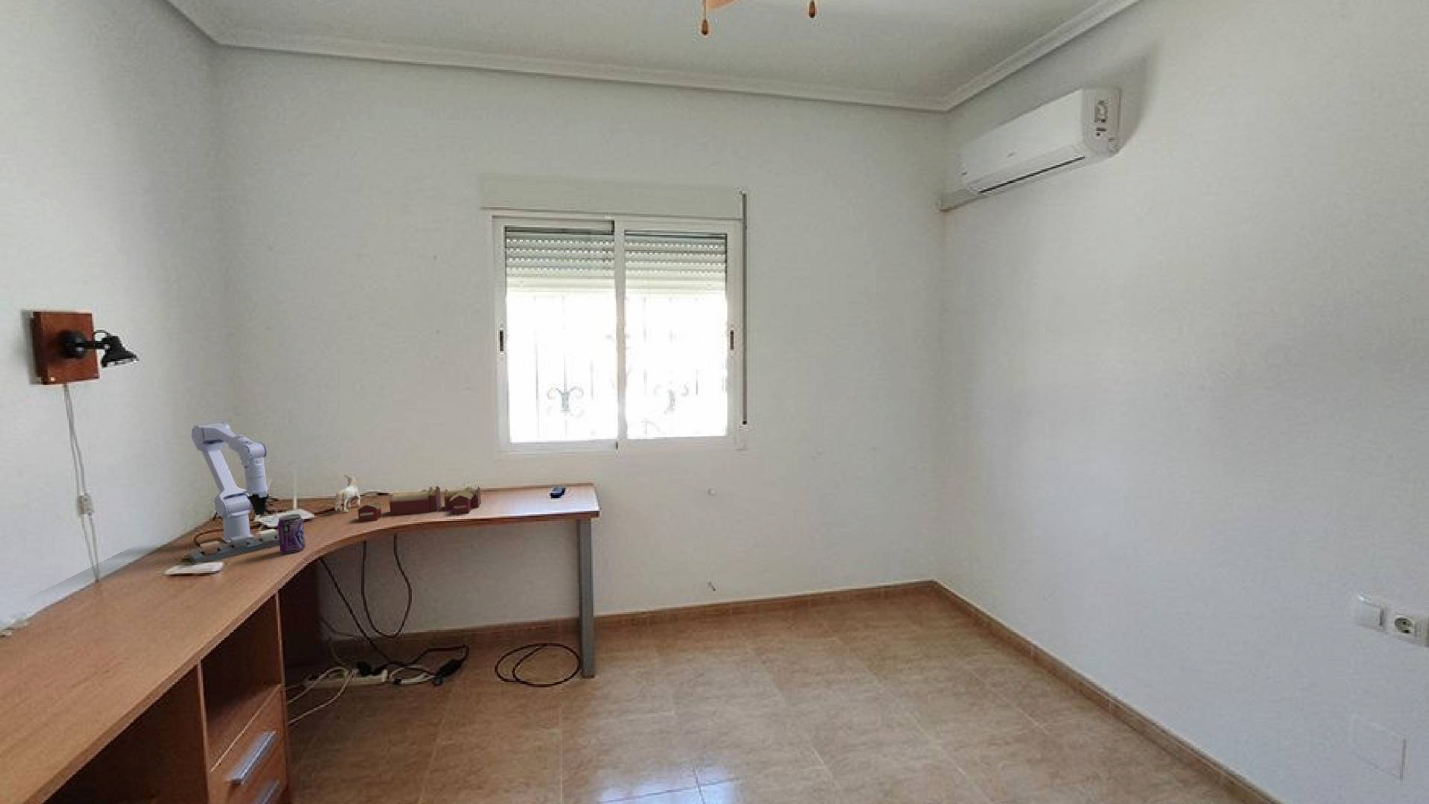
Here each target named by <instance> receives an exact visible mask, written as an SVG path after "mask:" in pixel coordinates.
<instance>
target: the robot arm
mask: <svg viewBox="0 0 1429 804" xmlns="http://www.w3.org/2000/svg"><path fill="white" fill-rule="evenodd" d="M230 427H231V426H230V425H229V424H228V423H227V422H225V421H223V422H219V423H210V424H209V423H208V424H200V425H199V424H196V425H194V426H193V427H192V429H191V439H192V442H193V444H194V446H195V448H196V450H197V451H200V452H201V453H202V455H203V457H204V460H205V461H206V464H207V466H208V468H209V471H210V472H211V475H212V478H213V480H214V482H215V484H216V487H217V489H218V491H219V493H218V494H217V495H216V496H215V498H214V499H213V502H214V506H215V507H214V508H215V511H216V513H217V515H218V516H220V518H222V526H223V535H224V536H221V538H220V539H222V540H223V541H224V542H226V544H230V543H232V542H231V541H230V538H232V537H237V536H241V535H247V536H249V539H253V538H255V535H253V534H252V533H251V529H250V520H249V514H250V513H251V511H252V509H253V511H254V514H255V515H256V516H262V515H264V514H265V509H266V504H267V500H268V499H269V496H270V495H269V494H268V493H267V491H268V490H269V489H268V485H267V476H266V468H265V458H266V457H267V453H268V450H267V446H266V445H265V444H264V443H263V442H262V441H259V442H258V441H257V442H254V441H253V440H251V439H249V438H247V437H246V436H245V435H244V434H235V433H234V432H233V431H232V430H231V428H230ZM227 444H228V448H229V449H231V450H232V451H234V452H236V453H237V454H238V456H239V459H240V461H241V464H242V466H243V468H244V477H245V484H246V488H245V489H244V488H241V487H238V486H237V484H236V482H235V479H234V478H233V476H232V473H231V471H230V468H229V467H228V464H227V462H226V459H225V457H224V455H223V453H222V451H221V450H222V449H223V448H225V447H226V446H227ZM250 494H251V495H250Z"/></svg>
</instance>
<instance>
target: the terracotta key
mask: <svg viewBox="0 0 1429 804" xmlns="http://www.w3.org/2000/svg"><path fill="white" fill-rule="evenodd" d="M218 546H221V544H220V541H218V540H214V541H208V542H205V543H200V544H199V548H200V549H201V550H204V554H210V553H214V552H218V551H217V547H218Z"/></svg>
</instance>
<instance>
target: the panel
mask: <svg viewBox="0 0 1429 804" xmlns="http://www.w3.org/2000/svg"><path fill="white" fill-rule="evenodd" d="M274 537H275V539H273V540H268V541H264V542H263V541H262V537H261V536H258V537H253V538H249V540H246V541H247V545H246V546H241V547H237V548H234V543H233V542H229V543H226V544H222V545H221V544H220V546H218V547H217V551H218V552H214V553H210V554H204V550H203V549H198V550H194V551H190V552H188V553H187V554H188V559H189V560H190V559H191V560H190V561H191V562H192V563H193V562H194V563H198V562H205V563H209V562H213V560H214V561H218V560H223V559H226V557H227V558H231V557H236V556H240V555H243V553H244V554H249V553H252V552H253V553H254V552H257V551H262V550H266V549H270V548H274V547H275V548H276V547H278V546H279V547H280V544H279V534H278V532H277V534H274ZM265 548H266V549H265ZM230 556H231V557H230ZM217 559H218V560H217ZM194 563H193V564H194Z"/></svg>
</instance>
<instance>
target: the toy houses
mask: <svg viewBox="0 0 1429 804" xmlns="http://www.w3.org/2000/svg"><path fill="white" fill-rule="evenodd" d="M441 496H442V495H441V488H440V487H439V486H438V485H436V486H429V490H426V489H423V490H421V491H419V492H418V491H416V492H415V491H414V492H404V493H397V494H396V493H395V494H394V493H391V494H390V496H389V500H388V503H389V514H390V517H393V516H403V515H404V516H405V515H414V514H425V513H427V514H428V513H436V512H438V511H439V509H441V506H442V499H441V498H442V497H441ZM443 499H444V500H443V501H444V511H445V512H446V511H452V515H463V514H464V515H465V514H470V512H471V511H472V509H479V508H480V506H481V504H482V494H481V487H480V486H477V487H475V486H472V487H468V486H467V487H460V488H459V487H458V488H457V489H456V488H452V489H451V488H445V491H444V496H443ZM383 507H384V505H383V504H381V503H378V502H375V501H369V502H367V503H366V504H365V503H364V504H363V505H360V506H359V507H357V509H356V510H355V512H356V511H357V514H358V515H357V517H358V522H359V523H364V522H375V521H378V520H379V519H381V517H382V508H383Z"/></svg>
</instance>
